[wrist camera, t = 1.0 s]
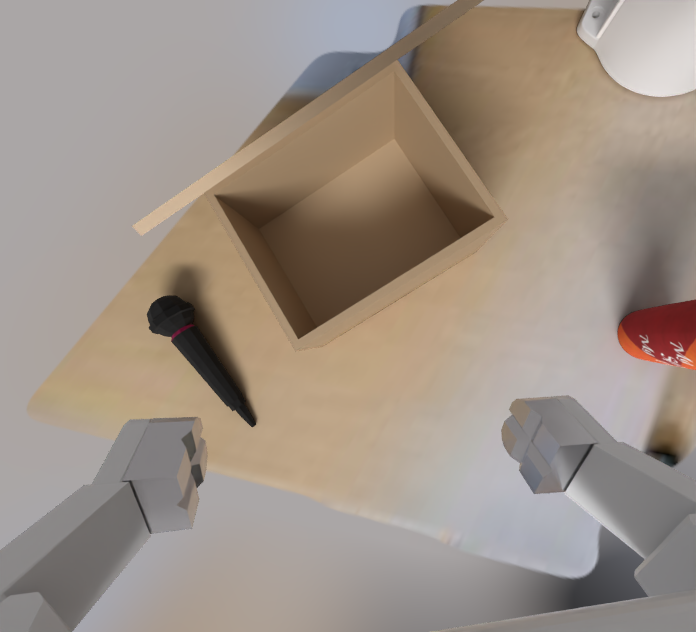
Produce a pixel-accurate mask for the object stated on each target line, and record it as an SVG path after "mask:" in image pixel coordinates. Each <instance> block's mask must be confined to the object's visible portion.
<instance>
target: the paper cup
mask: <svg viewBox="0 0 696 632" xmlns="http://www.w3.org/2000/svg"><path fill="white" fill-rule="evenodd" d="M618 340H619V343H620V345H621V346H622V348H623V349H624V350H625V351H626V352H627V353H628V354H630V355H631V356H633V357H636V358H639V359H643V360H647V361H652V362H657V363H662V364H667V365H672V366H677V367H683V368H688V369H693V370H696V300H691V301H685V302H680V303H674V304H668V305H663V306H658V307H652V308H647V309H642V310H638V311H635V312H632V313H630V314H629V315H627V316H626V317H625V318H624V319H623V320H622V321H621V323H620V325H619V328H618Z"/></svg>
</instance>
